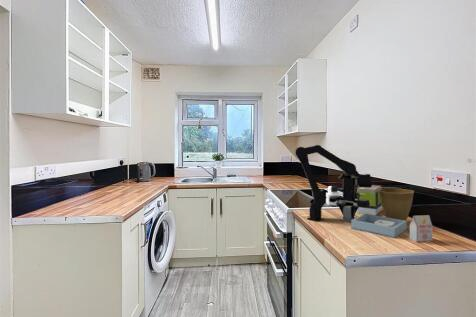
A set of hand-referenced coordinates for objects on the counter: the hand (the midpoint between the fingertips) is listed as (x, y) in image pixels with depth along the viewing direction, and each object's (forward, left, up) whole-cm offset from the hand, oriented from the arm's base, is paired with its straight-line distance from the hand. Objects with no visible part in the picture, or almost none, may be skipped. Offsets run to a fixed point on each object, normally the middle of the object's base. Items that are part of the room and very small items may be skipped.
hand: (348, 217), depth 136 cm
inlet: (-4, -19, -2) cm, 19 cm away
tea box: (+26, 0, -2) cm, 26 cm away
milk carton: (-7, -33, -2) cm, 34 cm away
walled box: (-4, -16, -2) cm, 17 cm away
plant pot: (+13, -18, -2) cm, 22 cm away
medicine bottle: (+30, +25, -2) cm, 39 cm away
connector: (0, 0, -2) cm, 2 cm away
